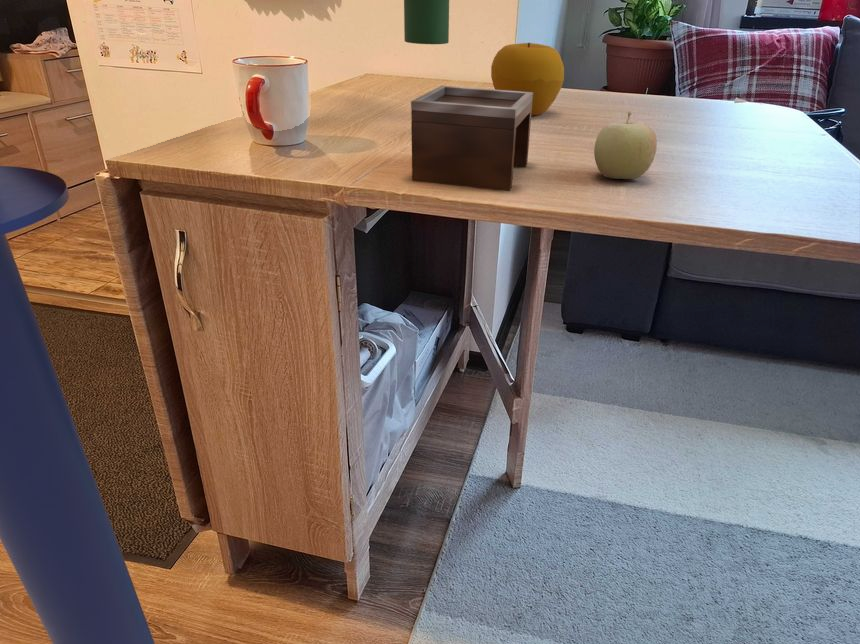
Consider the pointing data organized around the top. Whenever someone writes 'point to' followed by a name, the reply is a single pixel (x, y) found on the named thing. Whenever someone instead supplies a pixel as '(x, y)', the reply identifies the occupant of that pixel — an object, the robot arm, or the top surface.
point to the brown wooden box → (470, 136)
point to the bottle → (426, 21)
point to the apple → (529, 72)
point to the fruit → (625, 149)
